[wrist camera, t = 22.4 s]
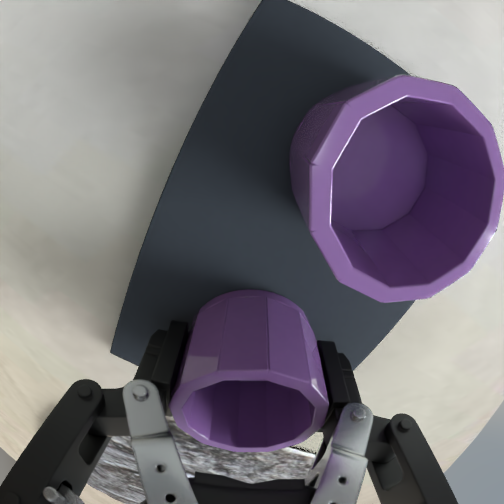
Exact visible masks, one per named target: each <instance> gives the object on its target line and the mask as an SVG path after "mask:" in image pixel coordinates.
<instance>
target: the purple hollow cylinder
mask: <svg viewBox="0 0 504 504" xmlns="http://www.w3.org/2000/svg"><path fill="white" fill-rule="evenodd" d="M289 171H290V177H291V188H292V192H293V194H294V196H295V199H296V201H297V204H298V206H299V208H300V211H301V213H302V215H303V218H304V220H305V223H306V225H307V228H308V230H309V233H310V235H311V236H312V238H313V240H314V241H315V243H316V245H317V246H318V248H319V250H320V252H321V253H322V255H323V257H324V258H325V260H326V262H327V264H328V265H329V267H330V269H331V271H332V272H333V274H334V276H335V278H336V279H337V280H338V281H339V282H340V283H342V284H344V285H346V286H348V287H350V288H352V289H354V290H357V291H359V292H361V293H363V294H365V295H367V296H369V297H371V298H373V299H375V300H377V301H379V302H381V303H382V302H383V303H389V302H399V301H409V300H418V299H427V298H430V297H432V296H434V295H435V294H437V293H439V292H440V291H442V290H443V289H445V288H446V287H448V286H449V285H451V284H452V283H454V282H455V281H457V280H458V279H460V278H461V277H463V276H464V275H466V274H467V273H469V271H471V269H472V268H473V266H474V265H475V264H476V262H477V261H478V259H479V258H480V256H481V255H482V253H483V251H484V250H485V248H486V247H487V245H488V244H489V242H490V240H491V239H492V237H493V236H494V234H495V232H496V231H497V229H496V228H497V227H498V223H499V218H500V213H501V207H502V202H503V195H504V166H503V162H502V158H501V154H500V150H499V146H498V143H497V139H496V136H495V132H494V129H493V127H492V124H491V123H490V122H489V121H488V120H487V119H486V117H485V116H484V115H483V114H482V113H481V112H480V111H479V110H478V109H477V107H476V106H475V105H474V104H473V103H472V102H471V101H470V100H469V99H468V98H467V97H466V96H465V95H464V94H463V93H462V92H461V91H460V90H459V89H458V88H457V87H455V86H453V85H450V84H446V83H442V82H438V81H433V80H429V79H424V78H419V77H414V76H409V75H396V76H391V77H386V78H382V79H377V80H373V81H368V82H364V83H360V84H356V85H352V86H348V87H346V88H345V89H343V90H341V91H339V92H336V93H333V94H331V95H329V96H327V97H325V98H324V99H322V100H321V101H319V102H318V103H316V104H314V105H313V106H312V107H311V109H310V110H309V111H308V112H307V113H306V115H305V116H304V117H303V119H302V120H301V122H300V123H299V125H298V127H297V129H296V131H295V133H294V136H293V140H292V142H291V146H290V153H289Z"/></svg>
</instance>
